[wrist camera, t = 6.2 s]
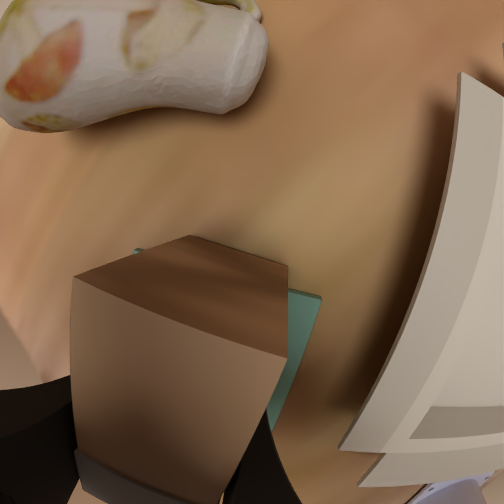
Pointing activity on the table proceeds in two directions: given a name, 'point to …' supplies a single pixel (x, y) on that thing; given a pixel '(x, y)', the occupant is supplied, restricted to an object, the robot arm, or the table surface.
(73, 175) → the table surface
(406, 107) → the table surface
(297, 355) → the mat
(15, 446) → the robot arm
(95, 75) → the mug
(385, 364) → the off-white shallow square tray
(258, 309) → the box
